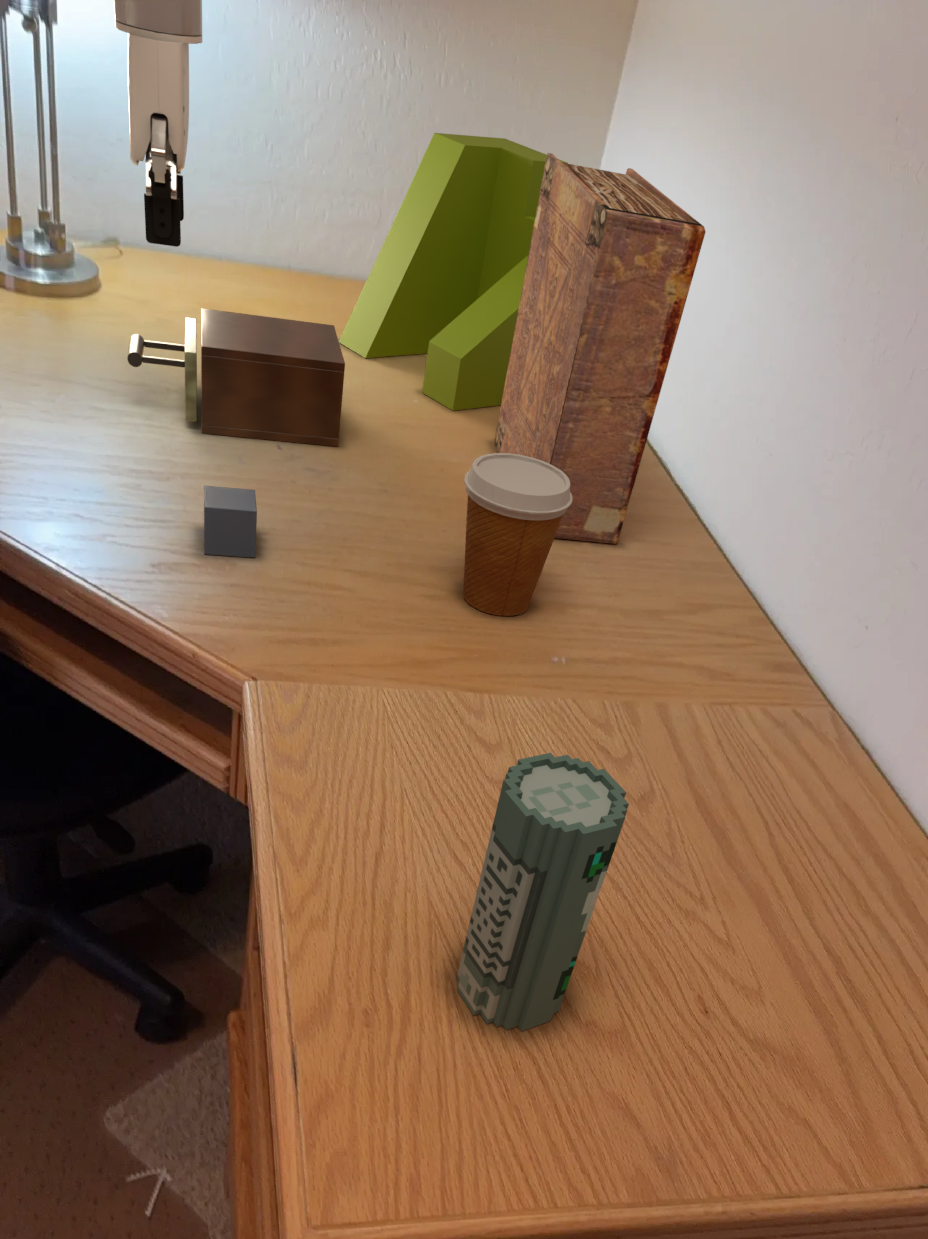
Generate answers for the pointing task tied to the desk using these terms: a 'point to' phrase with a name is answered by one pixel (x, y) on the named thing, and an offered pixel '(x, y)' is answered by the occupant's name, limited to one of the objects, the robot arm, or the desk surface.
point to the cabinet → (270, 378)
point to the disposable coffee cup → (510, 529)
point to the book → (596, 335)
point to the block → (230, 521)
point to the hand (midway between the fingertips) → (165, 230)
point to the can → (538, 887)
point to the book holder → (454, 268)
